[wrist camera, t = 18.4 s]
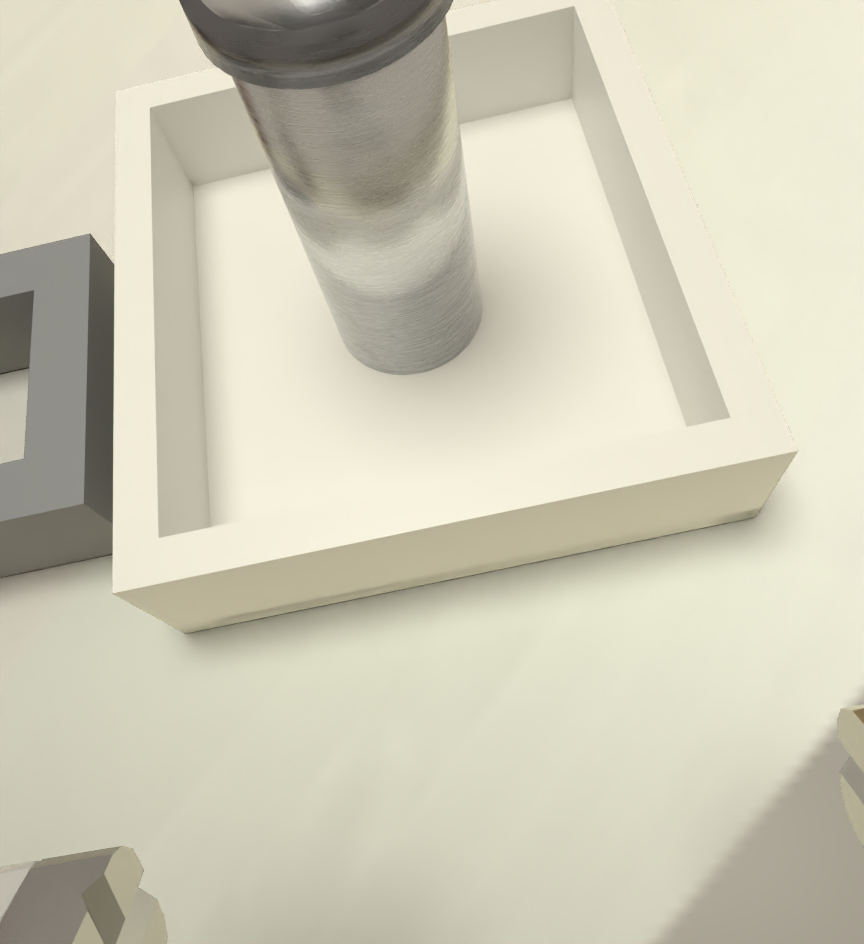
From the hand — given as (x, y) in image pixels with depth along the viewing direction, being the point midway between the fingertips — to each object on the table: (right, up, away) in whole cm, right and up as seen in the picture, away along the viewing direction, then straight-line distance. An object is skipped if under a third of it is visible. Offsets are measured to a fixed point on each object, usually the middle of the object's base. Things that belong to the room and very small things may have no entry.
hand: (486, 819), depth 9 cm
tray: (-1, +8, +13) cm, 16 cm away
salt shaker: (-1, +8, +13) cm, 15 cm away
